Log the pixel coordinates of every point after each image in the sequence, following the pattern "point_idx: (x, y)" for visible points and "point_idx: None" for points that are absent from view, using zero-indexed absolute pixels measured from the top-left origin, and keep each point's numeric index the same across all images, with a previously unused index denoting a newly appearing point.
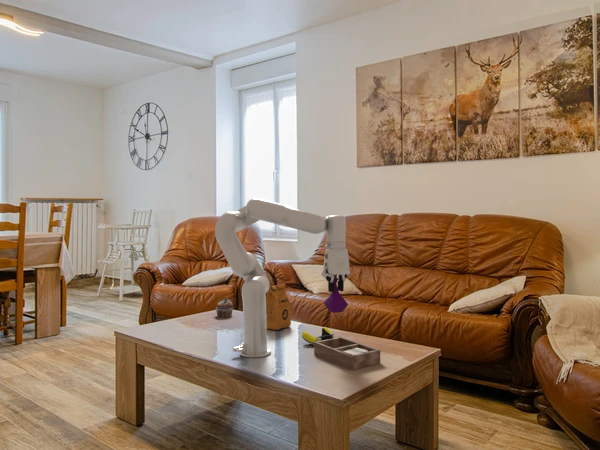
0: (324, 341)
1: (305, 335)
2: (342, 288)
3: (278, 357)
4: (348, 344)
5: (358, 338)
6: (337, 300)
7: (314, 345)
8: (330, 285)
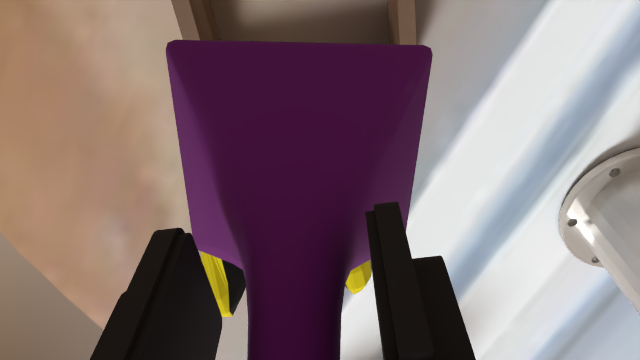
0: None
1: None
2: (166, 258)
3: (588, 111)
4: (206, 35)
5: (63, 218)
6: (323, 100)
7: None
8: (462, 320)
